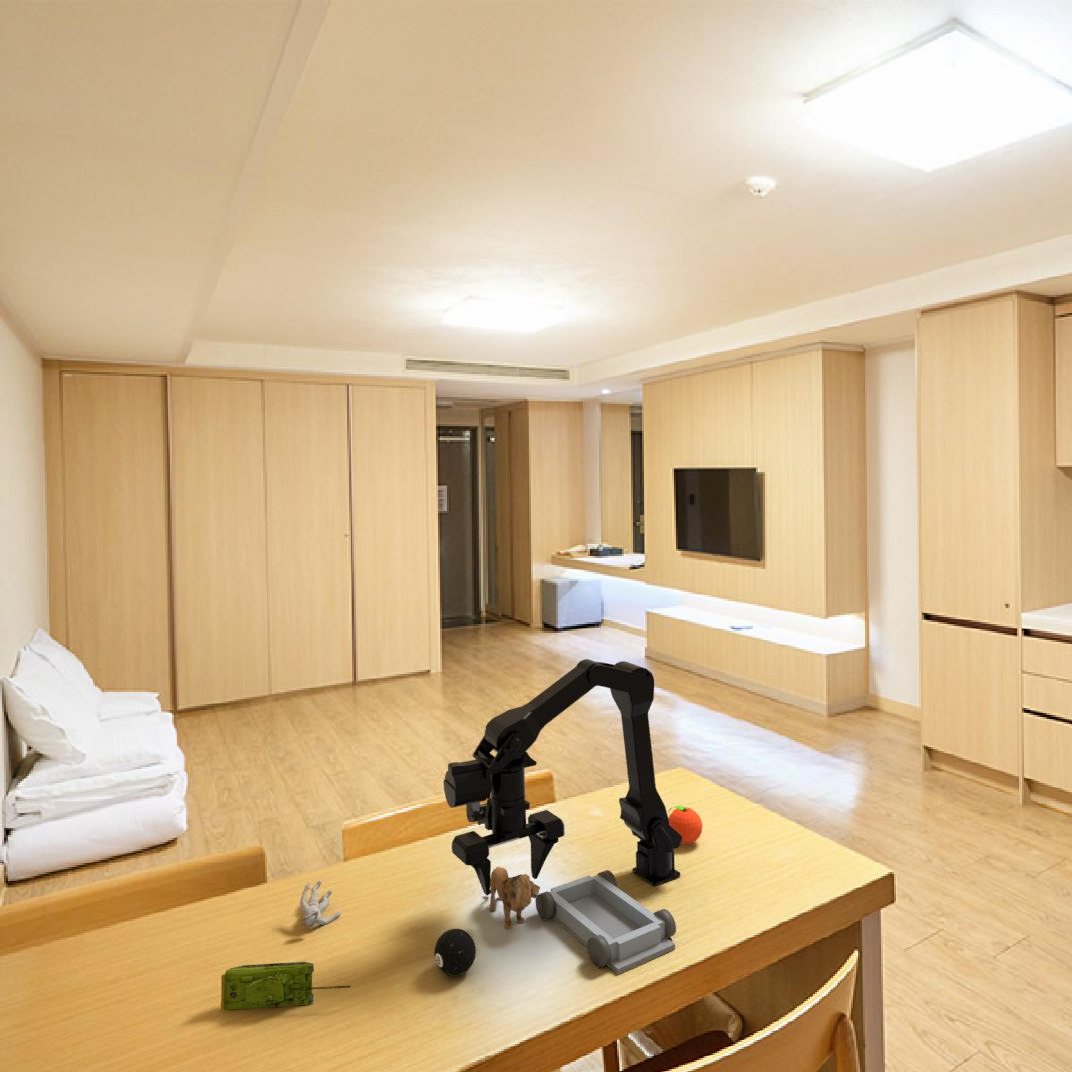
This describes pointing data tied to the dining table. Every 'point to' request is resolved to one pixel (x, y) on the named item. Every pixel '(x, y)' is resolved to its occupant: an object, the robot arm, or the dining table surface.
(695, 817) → the clementine
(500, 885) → the lion figurine
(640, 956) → the chassis
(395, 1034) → the dining table surface
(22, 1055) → the dining table surface
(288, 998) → the toy tank
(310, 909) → the grey irregular piece
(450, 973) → the billiard ball
